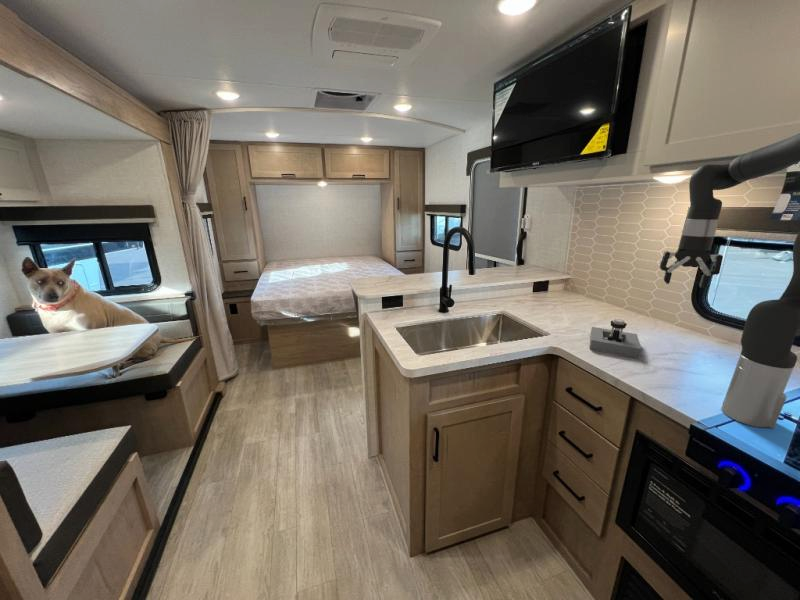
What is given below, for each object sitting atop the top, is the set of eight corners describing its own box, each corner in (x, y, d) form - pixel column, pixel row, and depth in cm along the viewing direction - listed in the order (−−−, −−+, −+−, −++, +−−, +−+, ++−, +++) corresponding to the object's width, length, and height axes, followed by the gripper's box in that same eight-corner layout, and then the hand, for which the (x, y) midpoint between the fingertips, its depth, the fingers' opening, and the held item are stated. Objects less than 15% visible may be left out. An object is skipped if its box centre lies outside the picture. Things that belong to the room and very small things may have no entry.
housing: (634, 343, 131) (636, 334, 130) (639, 358, 118) (641, 349, 116) (590, 335, 139) (591, 326, 137) (589, 349, 125) (591, 339, 124)
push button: (601, 342, 128) (605, 319, 125) (604, 338, 132) (608, 316, 129) (620, 347, 124) (625, 324, 121) (623, 343, 128) (628, 320, 125)
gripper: (670, 234, 98) (658, 284, 103) (733, 236, 91) (717, 290, 96) (666, 232, 104) (654, 280, 109) (725, 234, 97) (709, 285, 102)
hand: (683, 285), depth 102 cm, fingers open, 8 cm apart
